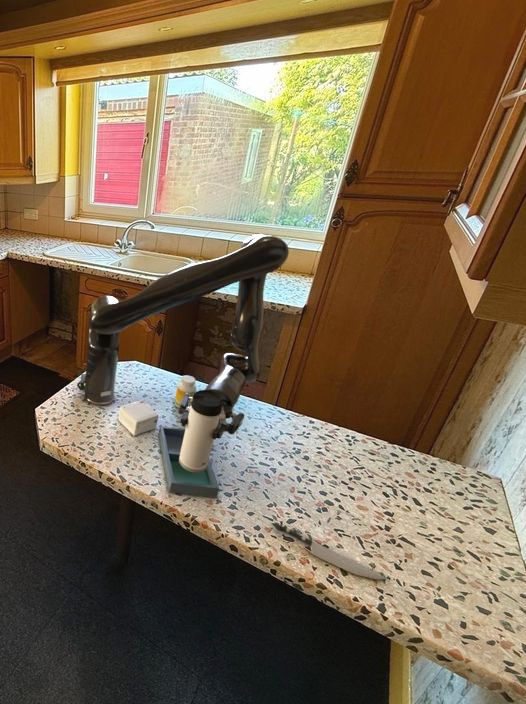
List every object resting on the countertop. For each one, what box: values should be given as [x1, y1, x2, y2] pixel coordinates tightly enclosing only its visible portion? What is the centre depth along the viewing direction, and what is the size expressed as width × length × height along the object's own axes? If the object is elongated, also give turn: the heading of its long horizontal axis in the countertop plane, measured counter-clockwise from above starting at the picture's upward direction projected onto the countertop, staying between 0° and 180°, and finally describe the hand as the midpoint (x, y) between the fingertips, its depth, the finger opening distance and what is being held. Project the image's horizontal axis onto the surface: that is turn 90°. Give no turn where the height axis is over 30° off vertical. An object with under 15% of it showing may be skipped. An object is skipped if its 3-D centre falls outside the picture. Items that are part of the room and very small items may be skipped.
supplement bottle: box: [173, 374, 197, 409], centre depth 121 cm, size 5×5×10 cm
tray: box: [157, 425, 220, 499], centre depth 101 cm, size 11×20×3 cm, turn 171°
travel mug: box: [179, 389, 226, 473], centre depth 91 cm, size 6×7×20 cm
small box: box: [118, 400, 159, 436], centre depth 114 cm, size 8×8×5 cm
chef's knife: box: [273, 523, 388, 580], centre depth 79 cm, size 19×1×3 cm
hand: (198, 429), depth 88 cm, fingers closed on travel mug, 6 cm apart
